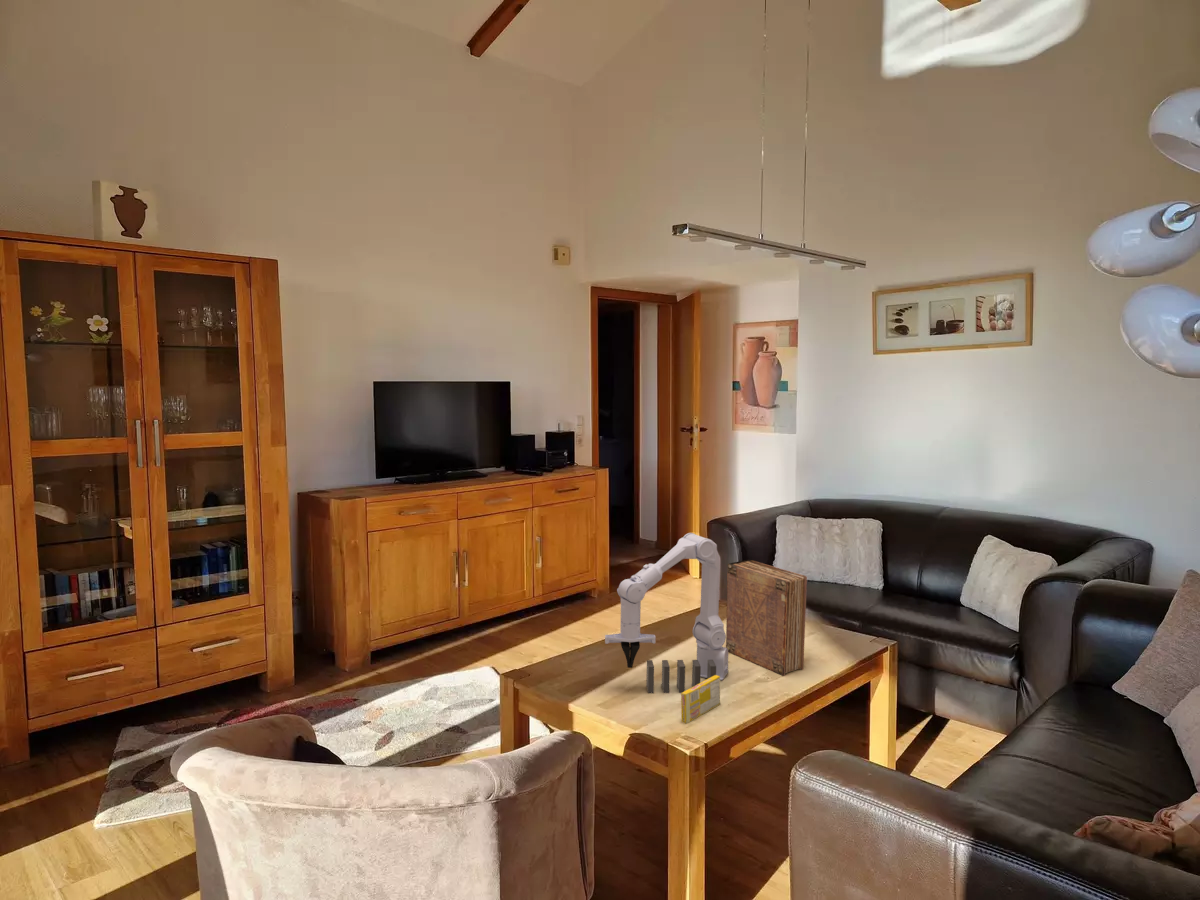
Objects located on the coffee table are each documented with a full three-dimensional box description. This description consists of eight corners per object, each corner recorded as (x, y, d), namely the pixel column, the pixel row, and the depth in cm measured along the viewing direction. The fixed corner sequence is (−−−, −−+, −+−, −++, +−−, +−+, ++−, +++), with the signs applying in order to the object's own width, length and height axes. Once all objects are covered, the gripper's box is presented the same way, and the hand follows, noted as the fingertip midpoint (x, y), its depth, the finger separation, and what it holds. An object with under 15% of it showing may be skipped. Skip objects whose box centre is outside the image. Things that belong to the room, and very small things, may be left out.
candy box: (714, 702, 222) (715, 674, 221) (720, 704, 221) (721, 676, 220) (680, 721, 210) (680, 691, 209) (686, 724, 209) (687, 694, 208)
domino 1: (651, 686, 232) (652, 660, 232) (653, 693, 227) (654, 666, 227) (646, 686, 232) (646, 660, 231) (648, 693, 227) (648, 666, 226)
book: (804, 670, 245) (807, 576, 242) (783, 676, 240) (787, 581, 237) (745, 645, 266) (747, 559, 263) (725, 651, 261) (727, 562, 257)
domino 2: (667, 686, 233) (667, 660, 232) (669, 693, 228) (669, 666, 227) (661, 686, 233) (662, 660, 232) (663, 693, 228) (664, 666, 227)
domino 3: (682, 685, 233) (682, 659, 232) (684, 693, 228) (685, 666, 227) (676, 685, 233) (677, 659, 232) (679, 693, 228) (679, 666, 227)
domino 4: (697, 685, 233) (697, 659, 232) (700, 692, 228) (700, 666, 227) (691, 685, 233) (692, 659, 232) (694, 692, 228) (695, 666, 227)
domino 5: (712, 685, 233) (713, 659, 232) (715, 692, 228) (716, 666, 227) (706, 685, 233) (707, 659, 232) (710, 692, 228) (710, 666, 227)
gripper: (653, 616, 232) (653, 661, 233) (604, 616, 231) (604, 661, 232) (656, 624, 225) (655, 670, 226) (605, 624, 224) (605, 670, 225)
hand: (629, 666), depth 229 cm, fingers closed
